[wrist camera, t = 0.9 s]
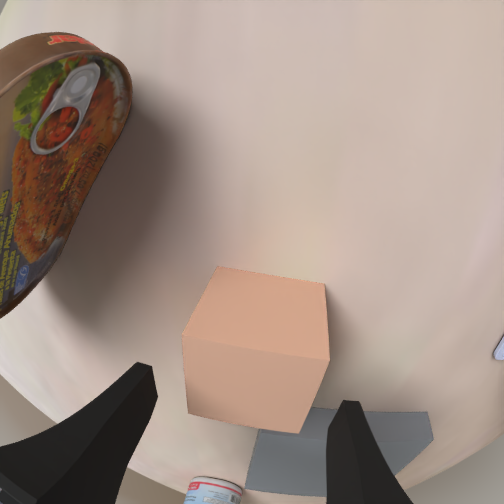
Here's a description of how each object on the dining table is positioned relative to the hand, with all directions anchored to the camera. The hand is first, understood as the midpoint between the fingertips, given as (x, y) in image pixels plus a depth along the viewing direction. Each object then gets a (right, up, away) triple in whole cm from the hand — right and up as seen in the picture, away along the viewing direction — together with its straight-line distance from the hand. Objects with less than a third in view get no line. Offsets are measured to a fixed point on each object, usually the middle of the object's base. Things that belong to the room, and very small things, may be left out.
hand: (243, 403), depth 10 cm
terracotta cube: (+1, +2, +5) cm, 6 cm away
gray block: (+7, -10, +10) cm, 16 cm away
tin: (-9, +10, +3) cm, 14 cm away
